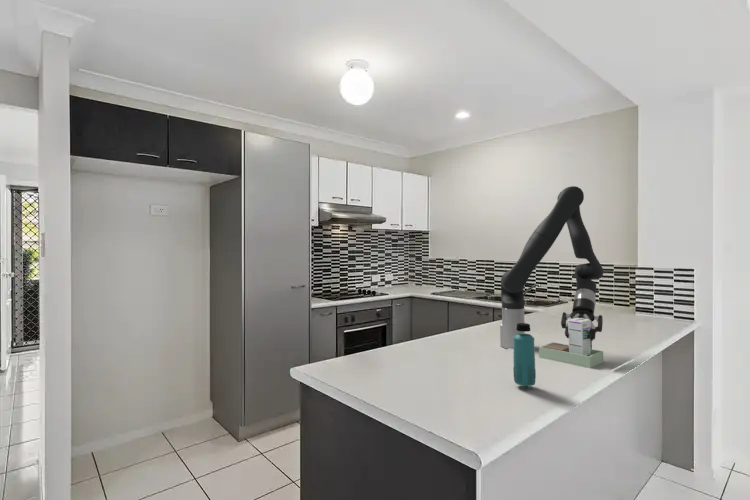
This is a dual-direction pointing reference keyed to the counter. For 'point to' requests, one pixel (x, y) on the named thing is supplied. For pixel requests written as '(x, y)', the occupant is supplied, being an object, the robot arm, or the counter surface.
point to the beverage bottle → (524, 356)
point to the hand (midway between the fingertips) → (579, 338)
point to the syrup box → (580, 336)
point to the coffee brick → (558, 347)
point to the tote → (571, 356)
